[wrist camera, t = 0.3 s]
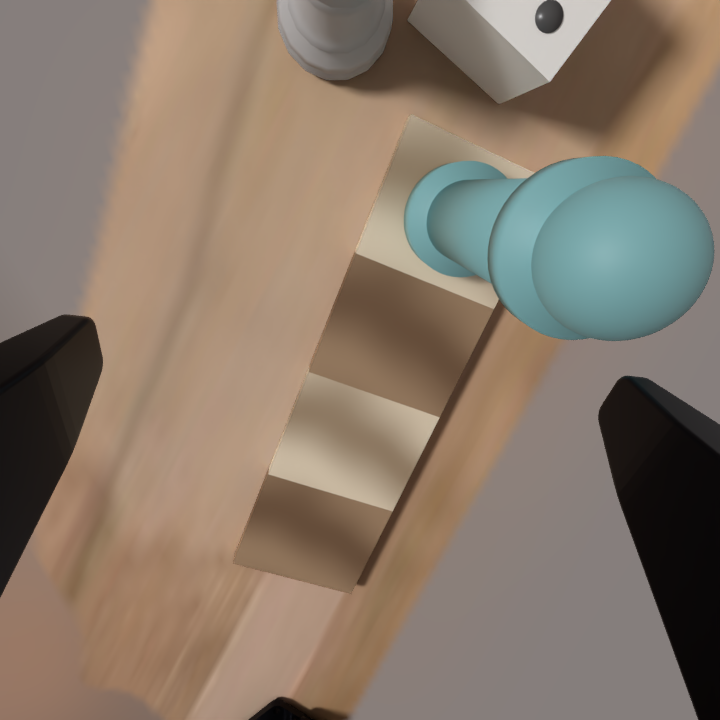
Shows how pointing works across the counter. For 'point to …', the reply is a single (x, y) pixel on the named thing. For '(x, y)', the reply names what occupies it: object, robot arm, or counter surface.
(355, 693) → the counter surface
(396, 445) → the board
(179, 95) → the counter surface
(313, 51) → the rook chess piece
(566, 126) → the counter surface
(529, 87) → the die
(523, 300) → the pawn
